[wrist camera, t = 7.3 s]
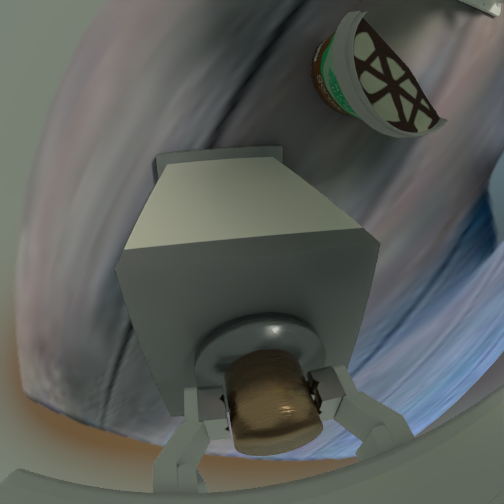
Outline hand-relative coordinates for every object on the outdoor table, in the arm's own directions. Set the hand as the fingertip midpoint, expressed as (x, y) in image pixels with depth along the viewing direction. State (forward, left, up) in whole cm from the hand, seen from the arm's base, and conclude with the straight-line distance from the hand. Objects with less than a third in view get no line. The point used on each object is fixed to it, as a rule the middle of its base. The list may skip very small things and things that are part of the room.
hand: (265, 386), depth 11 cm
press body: (0, 0, -21) cm, 21 cm away
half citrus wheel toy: (-12, -12, -22) cm, 27 cm away
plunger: (0, 0, -16) cm, 16 cm away
